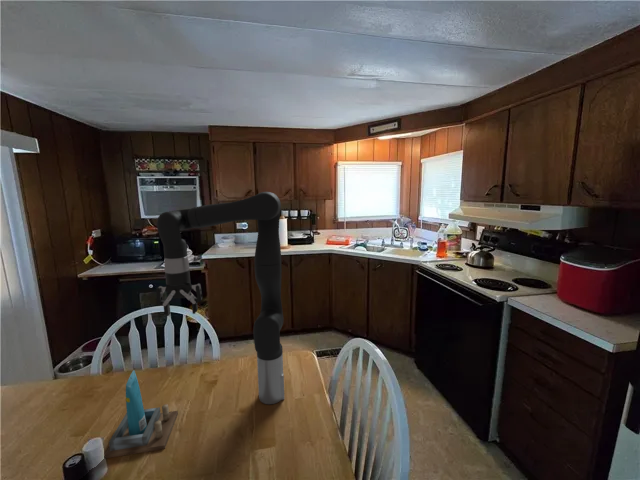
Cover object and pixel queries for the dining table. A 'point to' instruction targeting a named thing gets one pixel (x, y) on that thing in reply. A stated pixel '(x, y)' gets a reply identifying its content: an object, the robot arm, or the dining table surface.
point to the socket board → (149, 440)
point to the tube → (134, 407)
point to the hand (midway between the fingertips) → (181, 314)
